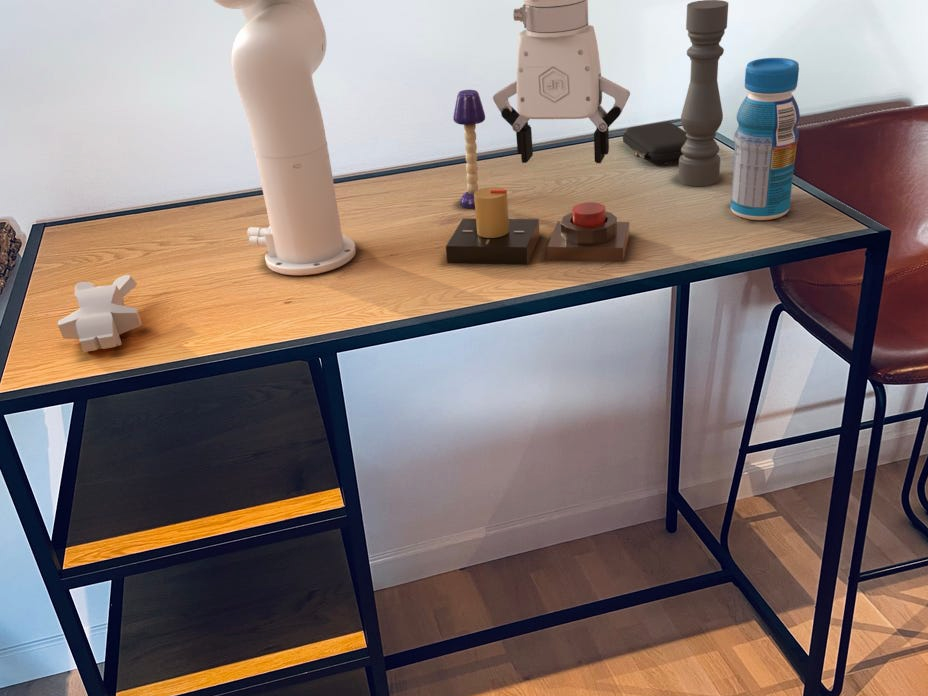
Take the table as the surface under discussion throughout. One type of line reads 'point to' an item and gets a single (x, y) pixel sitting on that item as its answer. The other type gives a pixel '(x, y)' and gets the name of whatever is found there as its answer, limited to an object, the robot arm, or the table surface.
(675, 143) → the carrying case
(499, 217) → the dimmer knob
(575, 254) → the switch box
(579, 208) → the power button
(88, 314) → the white blocky figure
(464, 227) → the dimmer
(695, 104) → the candle holder
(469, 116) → the toy lamp
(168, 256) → the table surface
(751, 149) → the beverage bottle
